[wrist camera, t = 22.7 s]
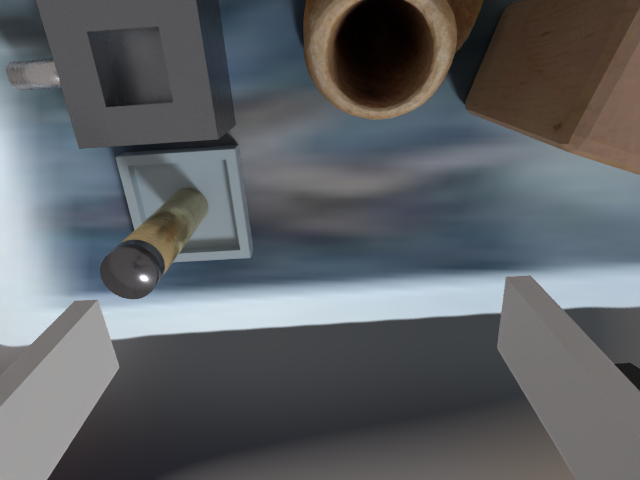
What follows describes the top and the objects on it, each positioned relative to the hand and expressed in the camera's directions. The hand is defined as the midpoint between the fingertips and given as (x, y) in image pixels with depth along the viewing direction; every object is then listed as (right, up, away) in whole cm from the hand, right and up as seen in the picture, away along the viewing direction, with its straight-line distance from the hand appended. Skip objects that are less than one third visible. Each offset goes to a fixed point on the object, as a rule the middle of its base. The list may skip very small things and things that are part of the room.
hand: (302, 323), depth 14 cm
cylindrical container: (-13, +6, +32) cm, 35 cm away
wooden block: (+21, +19, +28) cm, 39 cm away
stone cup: (+6, +22, +26) cm, 35 cm away
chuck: (-17, +19, +27) cm, 38 cm away
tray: (-14, +7, +33) cm, 36 cm away
